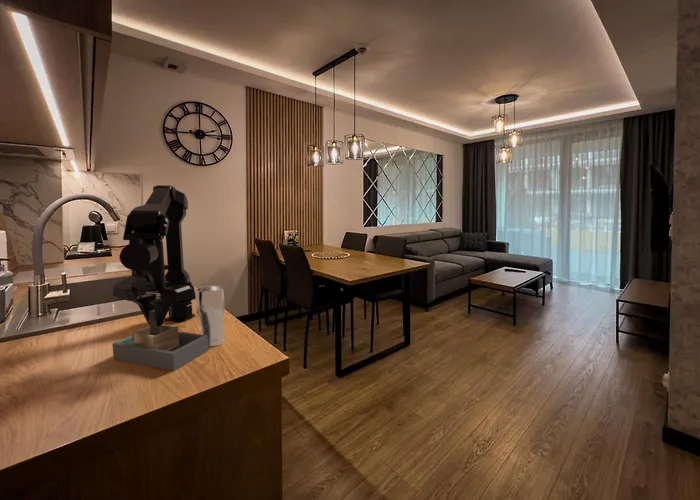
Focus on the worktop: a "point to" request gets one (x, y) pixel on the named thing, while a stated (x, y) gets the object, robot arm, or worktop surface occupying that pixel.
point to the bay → (162, 352)
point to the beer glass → (211, 313)
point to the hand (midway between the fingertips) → (155, 324)
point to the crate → (157, 335)
